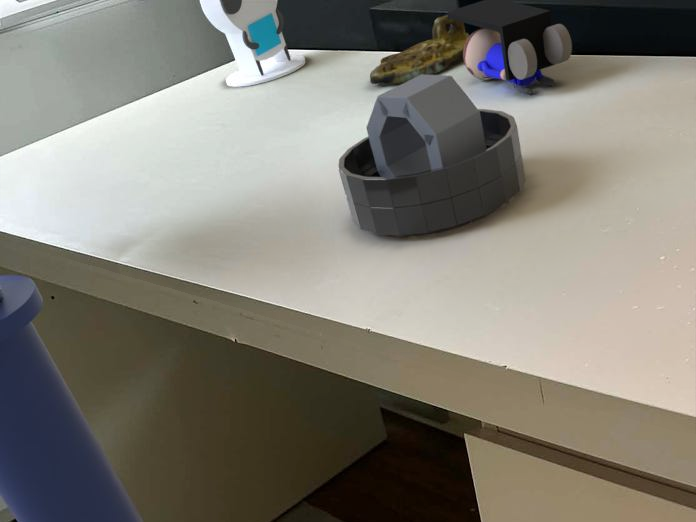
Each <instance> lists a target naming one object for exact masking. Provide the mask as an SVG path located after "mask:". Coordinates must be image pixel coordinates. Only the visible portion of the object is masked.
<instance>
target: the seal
mask: <svg viewBox="0 0 696 522" xmlns="http://www.w3.org/2000/svg"><path fill="white" fill-rule="evenodd" d="M448 24H449V25H450V26H449V28H448V31H447V25H448ZM469 36H470V34H469V33H468V32H466V27H465V23H463V22H460V21H456V20H452V19H449V18H448V15H447V14H445V15H443V16H438V17H437V18H436V19H435V20H434V23H433V26H432V39H427V40H424V41H422V42H419V43H417V44H415V45H412V46H410V47H408V48H407V49H404V50H401V51H400V52H398V53H393V54H390V55H386V56H384V57H382V58H381V59H380V60H379V62H380V63H379V65H377V66H376V67H375V68H374V69H373V70H371V71H370V74H369V80H370V83H371V84H372V85H378V84H390V83H391V84H394V85H397V84H403V83H405V82H407V81H409V80H411V79H413V78H415V77H417V76H419V75H421V74H424V75H437V74H438V73H440V72H442V71H444V70H446V69H448V67H451V66H453V65H454V64H457V63H459V62H461V61H463V60H464V59H463V49H464V45H465V43H466V40H467V39H468V37H469Z"/></svg>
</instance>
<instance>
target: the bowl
mask: <svg viewBox="0 0 696 522" xmlns="http://www.w3.org/2000/svg"><path fill="white" fill-rule="evenodd" d="M477 109H478V110H479V112H480V116H481V121H482V127H483V132H484V138H485V144H486V150H484V151H482V152H480V153H478V154H476V155H474V156H472V157H470V158H467V159H464V160H462V161H459V162H456V163H453V164H450V165H448V166H445V167H441V168H437V169H433V170H428V171H424V172H420V173H416V174H409V175H401V176H393V177H381V176H380V175H379V173H378V171H377V167H376V163H375V159H374V156H373V152H372V148H371V144H370V140H369V136H368V135H367V136H366V137H364V138H362V139H360V140H359V141H358V142H357V143H355V144H353V145H352V146H350V147H349V148H348V149H346V151H345V152H344V153H342V155H341V157H339V159H338V167H337V170H338V173H339V178H340V180H341V184H342V187H343V190H344V195H345V198H346V201H347V205H348V209H349V212H350V215H351V219H352V221H353V223H354V224H355V225H356V226H357V227H358V228H359V229H360V230H362V231H365V232H368V233H372V234H375V235H378V236H381V235H382V236H388V237H399V238H400V237H401V238H402V237H403V238H405V237H406V238H408V237H421V236H428V235H434V234H440V233H444V232H448V231H451V230H456V229H459V228H461V227H464V226H467V225H469V224H473V223H475V222H478V221H480V220H481V219H484V218H486V217H488V216H490V215H491V214H493V213H495V212H496V211H498V210H499V209H501V208H502V207H503V206H505V205H506V204H508V203H509V202H510V201H512V199H514V198H515V197H516V196H517V195H518V194H520V193H521V191H522V189H523V188H524V185H525V183H526V175H525V169H524V162H523V155H522V148H521V142H520V136H519V129H518V125H517V122H516V120H515V119H516V118H515V117H514V116H513V115H511V114H509V113H506V112H505V111H502V110H494V109H487V108H477Z"/></svg>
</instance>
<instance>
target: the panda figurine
mask: <svg viewBox="0 0 696 522" xmlns="http://www.w3.org/2000/svg"><path fill="white" fill-rule="evenodd" d="M199 4H200V6H201V10H202V12H203V14H204V16H205V17H206V19H207V20H208V21H209V22H210V24H211V25H212V26H213V27H214V28H215V29H217V30H218V31H220V32H221V33H223V34H224V35H225V37H226V39H227V42H228V45H229V47H230V50H231V52H232V54H233V55H232V56H233V57H234V60H235V62H236V64H237V67H238V70H236V71H234V72H232V73H231V74H229V75H228V76H227V77H226V78H225V82H226V85H227V86H229V87H234V88H235V87H236V88H237V87H240V88H241V87H248V86H249V87H250V86H254V85H258V84H262V83H267V82H270V81H274V80H277V79H280V78H283V77H285V76H287V75H289V74H292V73H294V72H296V71H297V70H299V69H300V68H302V67H303V66H304V65H305V64H306V57H305V56H303V55H298V54H297V55H293V54H292V55H291V54H290V52H289V49H288V46H287V44H286V41H285V37H284V34H283V32H282V31H283V29H284V26H285V20H284V19H285V18H284V16H283V13H282V12H281V11H280V9H278V8H277V6H278V0H199Z"/></svg>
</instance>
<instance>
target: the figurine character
mask: <svg viewBox="0 0 696 522" xmlns="http://www.w3.org/2000/svg"><path fill="white" fill-rule="evenodd" d="M446 15H448V18H449V19H452V20H456V21H460V22H463V24H467V25H470V26H475V27H479V29H476V30H475V31H473V32H472V33H471V34H469V37H468V39H467V40H466V43H465V45H464V49H463V59H462V60H463V63H464V66H465V68H466V70H467V72H469V74H470V75H472V76H473V77H474V78H476V79H478V80H481V81H482V80H483V81H490V80H494V79H496V80H501V81H507V82H509V83H512V84H514V89H515V90H517V91H520V92H522V93H525V94H527V95H530V96H531V95H532V94H534V91H533V89H532V88H528V87H527V86H530V85H531V84H532V83H534V81H537V82H539V83H541V84H543V85H546V86H549V87H552V86H554V85H556V84H555V79H554V78H552V77H549V76H546V75H544V74H543V73H542V70H545V69H546V68H549V67H553V66H555V65H558V64H562V63H565V62H567V61H569V60H570V59H571V55H572V51H573V43H572V38H571V35H570V32H569V30H568V29H567V27H566V26H565V25H564V24H562V23H557V24H554V25H553V23H552V11H551V10H549V9H544V8H540V7H535V6H531V5H527V4H524V3H520V2H519V3H518V2H514V1H511V0H481V1H478V2H475V3H471V4H467V5H465V6H462V7H457V8H456V9H452V10H449V11H447V12H446Z"/></svg>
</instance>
